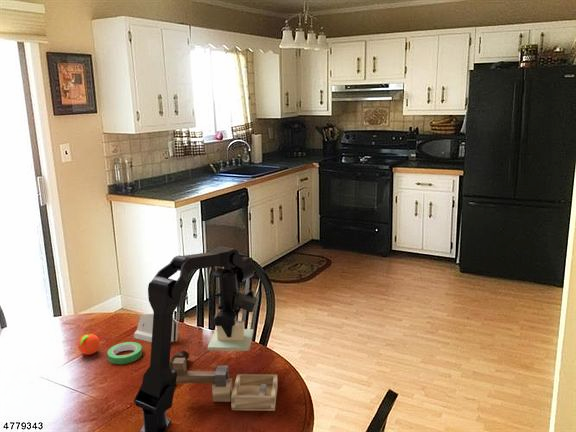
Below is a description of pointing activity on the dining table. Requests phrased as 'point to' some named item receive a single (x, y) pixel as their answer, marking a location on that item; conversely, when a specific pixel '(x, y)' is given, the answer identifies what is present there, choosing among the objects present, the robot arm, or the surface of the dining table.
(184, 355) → the bolt
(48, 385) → the dining table surface
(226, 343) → the lid
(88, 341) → the clementine
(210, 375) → the key
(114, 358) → the tape roll
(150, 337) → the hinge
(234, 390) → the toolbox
